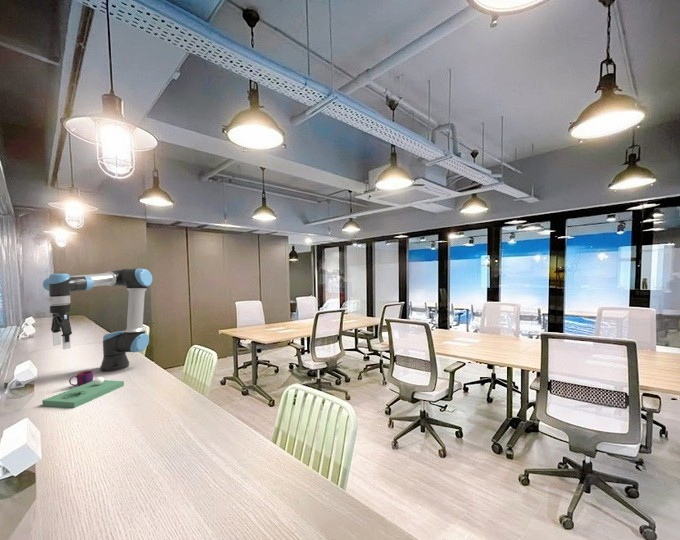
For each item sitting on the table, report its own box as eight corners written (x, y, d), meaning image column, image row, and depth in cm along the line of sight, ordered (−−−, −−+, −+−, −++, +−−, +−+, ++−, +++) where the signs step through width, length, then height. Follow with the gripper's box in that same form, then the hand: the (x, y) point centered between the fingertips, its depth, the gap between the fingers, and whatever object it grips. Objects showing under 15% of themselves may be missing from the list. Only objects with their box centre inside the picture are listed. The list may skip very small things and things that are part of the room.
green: (95, 384, 166) (95, 379, 166) (123, 385, 163) (123, 381, 163) (42, 405, 140) (42, 400, 140) (74, 407, 137) (74, 402, 137)
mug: (94, 384, 165) (93, 372, 165) (70, 390, 158) (69, 377, 158) (91, 381, 170) (91, 369, 170) (68, 387, 162) (68, 374, 162)
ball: (99, 383, 161) (99, 375, 161) (106, 383, 160) (105, 376, 160) (92, 386, 157) (92, 378, 157) (98, 386, 156) (98, 378, 156)
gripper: (41, 304, 151) (43, 345, 151) (58, 307, 138) (60, 352, 138) (61, 302, 157) (62, 342, 158) (79, 304, 144) (80, 348, 145)
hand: (61, 347), depth 148 cm, fingers open, 13 cm apart
